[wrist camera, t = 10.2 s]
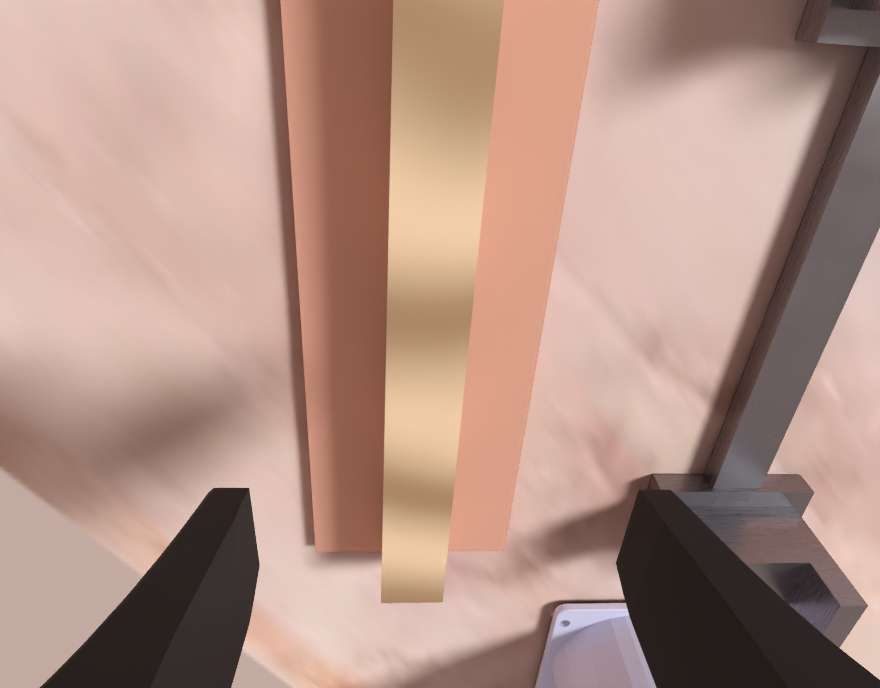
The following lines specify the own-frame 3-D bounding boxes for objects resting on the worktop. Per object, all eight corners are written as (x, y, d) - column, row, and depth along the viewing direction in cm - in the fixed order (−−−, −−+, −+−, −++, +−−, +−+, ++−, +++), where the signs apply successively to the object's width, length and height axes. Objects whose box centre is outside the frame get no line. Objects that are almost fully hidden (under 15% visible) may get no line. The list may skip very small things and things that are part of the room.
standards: (767, 540, 27) (846, 659, 22) (631, 541, 27) (681, 663, 22) (1096, -123, 15) (1425, -172, 10) (856, -146, 14) (1083, -210, 10)
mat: (502, 541, 26) (504, 550, 26) (316, 542, 26) (315, 551, 25) (622, -169, 14) (629, -174, 14) (271, -204, 13) (266, -209, 13)
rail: (439, 552, 26) (442, 602, 24) (382, 552, 25) (381, 603, 23) (506, -181, 13) (525, -211, 11) (397, -192, 13) (397, -224, 11)
